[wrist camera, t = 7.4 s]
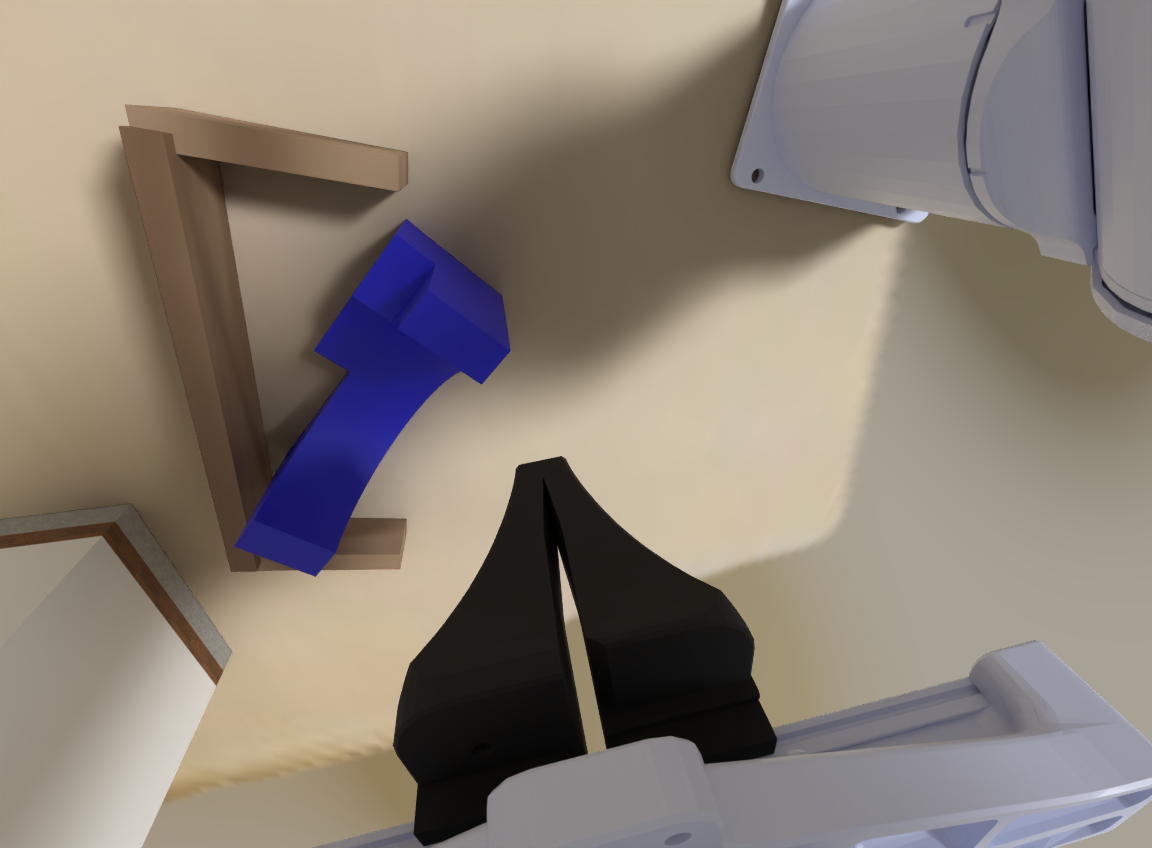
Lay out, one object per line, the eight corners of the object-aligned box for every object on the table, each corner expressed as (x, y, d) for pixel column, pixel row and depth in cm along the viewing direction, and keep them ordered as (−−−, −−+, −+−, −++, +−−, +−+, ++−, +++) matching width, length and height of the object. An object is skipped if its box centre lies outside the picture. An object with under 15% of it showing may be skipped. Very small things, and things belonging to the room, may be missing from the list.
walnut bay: (407, 152, 17) (395, 156, 14) (406, 533, 26) (398, 577, 23) (173, 107, 15) (112, 103, 13) (258, 531, 24) (233, 579, 21)
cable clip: (406, 218, 18) (380, 254, 13) (501, 294, 20) (510, 351, 15) (254, 434, 21) (187, 529, 16) (349, 480, 24) (315, 576, 19)
